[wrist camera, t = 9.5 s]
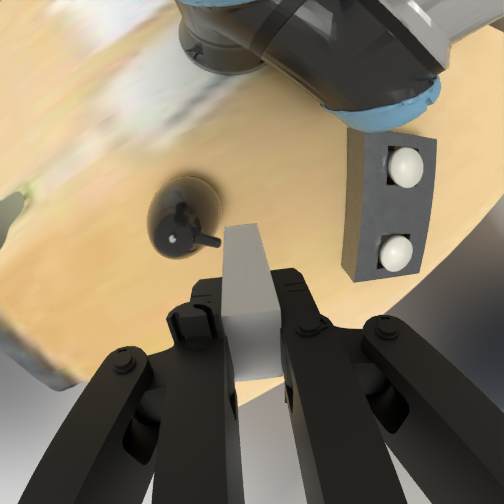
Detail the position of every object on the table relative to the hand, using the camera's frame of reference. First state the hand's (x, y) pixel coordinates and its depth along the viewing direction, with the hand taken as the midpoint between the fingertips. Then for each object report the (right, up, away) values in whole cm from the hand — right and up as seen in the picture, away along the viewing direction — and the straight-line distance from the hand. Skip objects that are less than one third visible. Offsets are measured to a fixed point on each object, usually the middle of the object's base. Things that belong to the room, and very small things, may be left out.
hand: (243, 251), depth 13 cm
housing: (+23, +9, +30) cm, 39 cm away
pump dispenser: (-9, +7, +28) cm, 31 cm away
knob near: (+22, +15, +27) cm, 38 cm away
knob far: (+23, +2, +33) cm, 40 cm away
